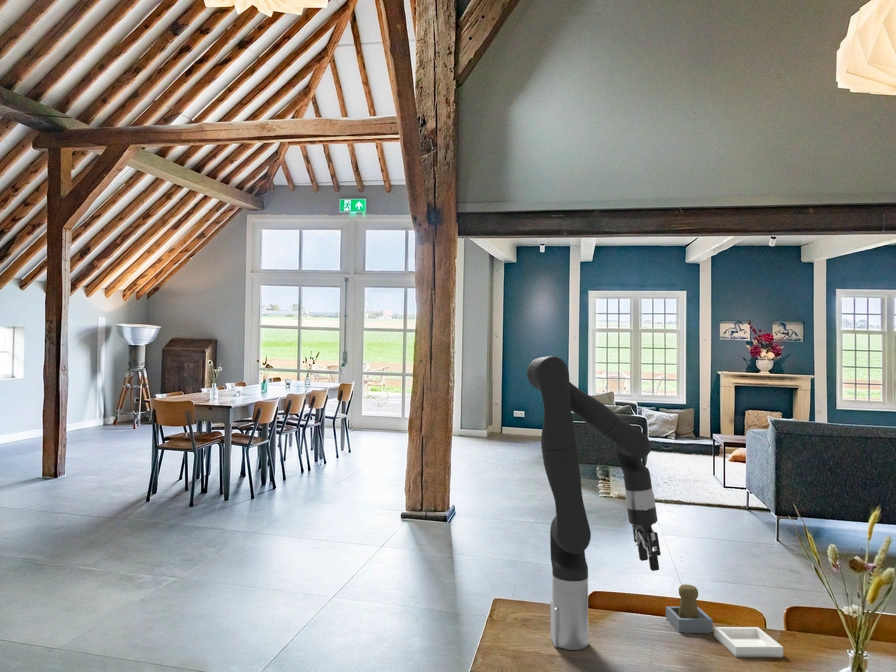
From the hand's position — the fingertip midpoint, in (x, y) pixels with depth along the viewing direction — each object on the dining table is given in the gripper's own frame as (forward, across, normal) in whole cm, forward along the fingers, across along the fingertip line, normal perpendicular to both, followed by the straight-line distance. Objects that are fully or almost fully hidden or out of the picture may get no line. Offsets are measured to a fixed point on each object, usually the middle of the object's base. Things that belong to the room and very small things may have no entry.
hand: (649, 565), depth 167 cm
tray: (+22, +6, +21) cm, 31 cm away
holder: (+20, -7, +11) cm, 24 cm away
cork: (+21, -7, +11) cm, 24 cm away
